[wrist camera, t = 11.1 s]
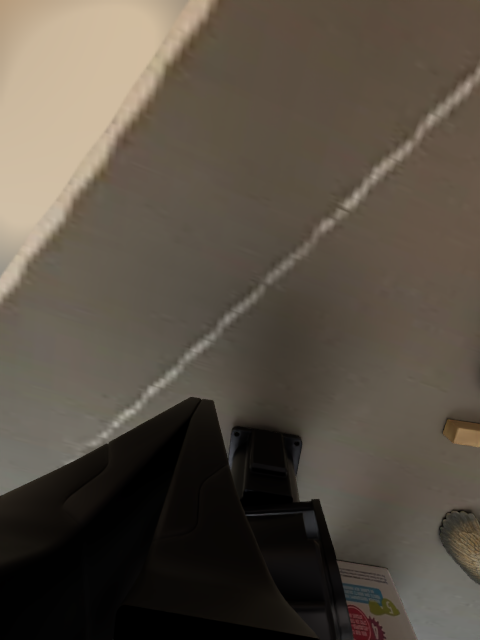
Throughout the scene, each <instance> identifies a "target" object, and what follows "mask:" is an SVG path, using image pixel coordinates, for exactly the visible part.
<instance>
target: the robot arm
mask: <svg viewBox="0 0 480 640" xmlns="http://www.w3.org/2000/svg"><path fill="white" fill-rule="evenodd" d="M235 432H239V433H235ZM295 441H298V442H297V443H295ZM301 448H302V440H301V438H300V437H299V436H296V435H289V434H283V433H278V432H271V431H265V430H259V429H251V428H244V427H238V426H237V427H234V428H233V429H232V433H231V441H230V450H229V459H228V458H227V453H226V449H225V445H224V441H223V437H222V433H221V429H220V425H219V421H218V417H217V413H216V409H215V405H214V401H213V400H207V399H202V400H201V399H200V398H195V397H190V398H188V399H186V400H184V401H182V402H181V403H179V404H177V405H175V406H173V407H172V408H170V409H168V410H166V411H164V412H163V413H161V414H159V415H157V416H155V417H154V418H152V419H150V420H148V421H146V422H145V423H143V424H141V425H139V426H137V427H136V428H134V429H132V430H130V431H128V432H127V433H125V434H123V435H121V436H119V437H118V438H116V439H114V440H112V441H110V442H109V444H105V445H103V446H101V447H99V448H98V449H96V450H94V451H92V452H90V453H88V454H86V455H85V456H83V457H81V458H79V459H77V460H75V461H73V462H71V463H69V464H67V465H65V466H63V467H61V468H59V469H57V470H55V471H53V472H51V473H49V474H46V475H44V476H42V477H40V478H38V479H36V480H34V481H31V482H29V483H27V484H25V485H23V486H21V487H19V488H17V489H14V490H12V491H10V492H8V493H6V494H4V495H2V496H0V640H354V637H353V631H352V626H351V621H350V616H349V611H348V606H347V602H346V597H345V593H344V588H343V584H342V580H341V575H340V571H339V567H338V563H337V559H336V555H335V552H334V548H333V545H332V541H331V538H330V535H329V531H328V528H327V524H326V521H325V518H324V514H323V511H322V507H321V504H320V501H319V499H311V501H308V502H300V500H299V494H298V488H297V482H296V474H297V469H298V464H299V459H300V453H301Z"/></svg>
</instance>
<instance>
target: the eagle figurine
mask: <svg viewBox="0 0 480 640" xmlns="http://www.w3.org/2000/svg"><path fill="white" fill-rule="evenodd" d="M442 522H443V526H444V528H443V527H440V530H441V532H442V533H440V537H441V540H442V542H443V546H444V547H445V548H446V551H447V553H448V554H449V555H451V556H452V558H453V559H454V561H455V562H456V563H457V564H458V565H460V567H461V568H462V569H463V571H464V572H465V573H466V574H467V575H468V576H469V577H470V578H471V579H472V580H474V581H475V582H476V583H478V584H479V585H480V525H479V522H478V520H477V519H476V517H475V515H474V514H472V513H469V514H467V513H466V512H464V511H461V512H460V513H458V512H457V511H452V512H451V513H447V514H446V519H444V520H443V521H442Z"/></svg>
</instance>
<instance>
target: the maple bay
mask: <svg viewBox="0 0 480 640" xmlns="http://www.w3.org/2000/svg"><path fill="white" fill-rule="evenodd" d="M443 435H444V436H446V437H447V438H448V439H449V440H450V441H451V442H452V443H454V444H461V445H468V446H474V447H480V424H478V423H471V422H464V421H457V420H450V419H448V420H447V422H446V425H445V428H444V431H443Z"/></svg>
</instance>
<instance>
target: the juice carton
mask: <svg viewBox="0 0 480 640" xmlns="http://www.w3.org/2000/svg"><path fill="white" fill-rule="evenodd" d="M337 563H338V567H339V571H340V575H341V580H342V584H343V588H344V593H345V597H346V602H347V606H348V611H349V616H350V621H351V626H352V631H353V637H354V640H418V639H417V637H416V634H415V632H414V630H413V627H412V625H411V622H410V620H409V618H408V615H407V613H406V611H405V608H404V606H403V603H402V601H401V599H400V596H399V594H398V592H397V589H396V587H395V584H394V582H393V580H392V577H391V575H390V573H389V571H388V569H387V568H381V567H375V566H369V565H363V564H357V563H350V562H344V561H338V560H337Z"/></svg>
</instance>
